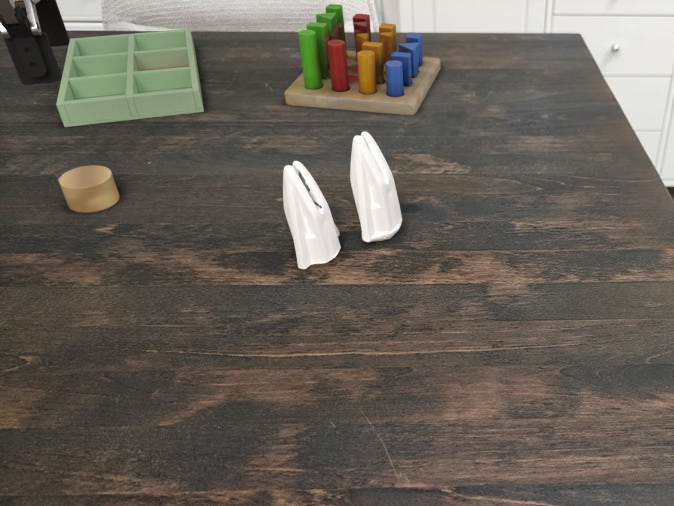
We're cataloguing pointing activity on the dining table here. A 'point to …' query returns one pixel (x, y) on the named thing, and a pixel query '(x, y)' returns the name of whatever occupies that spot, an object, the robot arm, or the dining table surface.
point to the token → (89, 188)
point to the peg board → (360, 68)
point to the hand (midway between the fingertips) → (48, 62)
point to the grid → (129, 78)
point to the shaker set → (314, 214)
